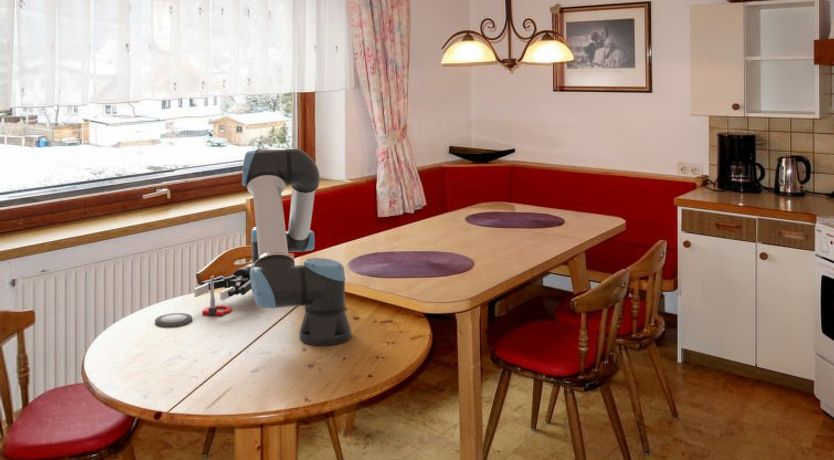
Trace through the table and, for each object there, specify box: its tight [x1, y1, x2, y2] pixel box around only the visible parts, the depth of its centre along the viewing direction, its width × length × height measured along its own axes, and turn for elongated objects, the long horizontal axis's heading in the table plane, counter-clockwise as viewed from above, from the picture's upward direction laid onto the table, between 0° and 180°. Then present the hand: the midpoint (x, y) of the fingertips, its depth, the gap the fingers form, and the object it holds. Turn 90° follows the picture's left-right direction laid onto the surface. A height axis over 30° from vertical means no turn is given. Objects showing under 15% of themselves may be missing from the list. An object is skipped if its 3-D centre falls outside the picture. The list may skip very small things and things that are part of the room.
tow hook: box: [201, 275, 232, 317], centre depth 240 cm, size 8×13×9 cm
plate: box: [154, 312, 193, 328], centre depth 231 cm, size 11×11×1 cm
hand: (208, 294), depth 235 cm, fingers open, 9 cm apart
